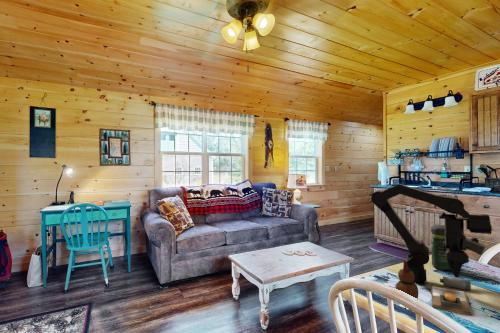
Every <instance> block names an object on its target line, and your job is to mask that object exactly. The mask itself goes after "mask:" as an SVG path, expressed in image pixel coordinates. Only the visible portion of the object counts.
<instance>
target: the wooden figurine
mask: <svg viewBox="0 0 500 333" xmlns="http://www.w3.org/2000/svg"><path fill="white" fill-rule="evenodd" d="M402 264H403V268H402V269H400V270H399V271H398V273H397V275H398V279H399V280H398V281H397V282H396V284H395V286H394V287H395V288H396V289H398V290H401V291H403V292H405V293H407V294H409V295H411V296H413V297H415V298H417V300H418V299H419V288H418V286H417V283H415V282H413V281H414V278H415V277H414V273H413V272H412V271H410V270H409V269H408V265H407V263H406V260H403V263H402ZM395 288H394V289H395Z"/></svg>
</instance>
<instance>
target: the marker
mask: <svg viewBox="0 0 500 333" xmlns="http://www.w3.org/2000/svg"><path fill="white" fill-rule="evenodd" d="M439 283H442V286H443V287H449V288H455V289H461V290H466V291H471V290H472V284H471V280H469V279H463V278H458V277H451V276H450V277H449V276H445V275H444V276H443V275H442V278H439Z"/></svg>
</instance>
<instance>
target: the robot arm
mask: <svg viewBox="0 0 500 333" xmlns="http://www.w3.org/2000/svg"><path fill="white" fill-rule="evenodd" d="M399 195H402V196H405V197H409V198H410V199H411V198H412V199H415V200H418V201H421V202H424V203H428V204H432V205H433V206H436V207H438V208H439V209H441V210H443V211H442V212H441V214H439V215H438V218H439V220H440V219H441V220H442V219H443V220H444V225H445V240H444V241H443V247H444V251H445V253H446V259H447V261H448V263H449V265H450V268H451V270H450V271H452V272H451V273H452V274H453V276H454V278H459V277H460V274H461V272H462V268H463V266H464V265H465V264H468V263H469V262H470V257H469V254H468V253H467V252H466V251H467V250H469V251H471V252H474V253H476V254H477V255H479V256H482V255H483V253H484V251H485V249H486V247H485V245H484V244H483V243H481V242H480V241H479V239H478V238H476V237H474V236H471V237H470V238H468V237H466V235H465V230H468V231H469V233H473V234H483V235H484V234H485V235H491V234H492V230H493V228H492V227H493V226H492V223H491V219H490V218H491V217H490V215H489V214H485V213H484V214H477V213H476V214H475V213H473V214H472V213H470V212H469V211H468V210H466V209H465V205H464V202H463V201H462V200H461V199H459V197H456V196H451V195H450V196H449V195H441V194H434V193H431V192H428V191H425V190H421V189H417V188H416V187H415V188H414V187H410V186H407V185H405V184H402V183H397V184H395V185H394V186H391V187H389V188H387V189H384V190H381V189H380V190H375V191H374V192H373V193H372V194H371V197H370V199H371V202H372V203H373V204H374V205H375V206H376V207H377V208H378V210H379V211H381V212H383V214H384V215H385V217H386V218H387V219H388V220H389V223H390V224H392V226H393V228H394V229H395V230H396V232H397V234H398V235H399V236H400V238H401V239H402V241H403V242H404V243H405V245H406V248H407V249H408V250H407V251H408V253H409V254H408V255H407V256H406V259H405V261H406V263H407V265H408V269H409V270H410V271H412V272H413V273H414V277H415V278H414V281H413V282H415V284H416V285H417V284H418V285H422V286H424V285H426V282H427V281H428V280H427V269H426V268H425V265H426V264H428V263H429V261H430V250H429V247H428V246H427V245H426V243H425V242H424V240H423V239H420V240H418V239H417V238H416V237H415V236H414V235H413V234H412V232H411V231H410V229H409V228H408V227H407V225H406V224H405V222H404V221H403V219H402V218H401V217H400V215H399V213H397V211H396V210H395V208H394V207H393V204H392V201H391V200H390V199H392V198H394V197H396V196H399ZM445 211H446V212H447V213H446V212H445ZM457 215H458V216H457ZM464 225H465V226H464ZM445 247H446V248H445Z"/></svg>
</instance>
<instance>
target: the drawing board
mask: <svg viewBox="0 0 500 333" xmlns="http://www.w3.org/2000/svg"><path fill="white" fill-rule="evenodd" d="M445 293H452V294H454V295H456V302H451V301H447V300H446V299H445ZM430 294H431V307H432V308H434V309H435V308H436V309H439V310H445V311H449V312H454V313H458V314H464V315H467V316H472V315H473V314H472V309H471V307H470V303H469V300H468V298H467V294H466V292H465V291H461V290H456V289H455V290H454V289H451V288H444V287H439V286H433V285H431V286H430Z"/></svg>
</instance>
